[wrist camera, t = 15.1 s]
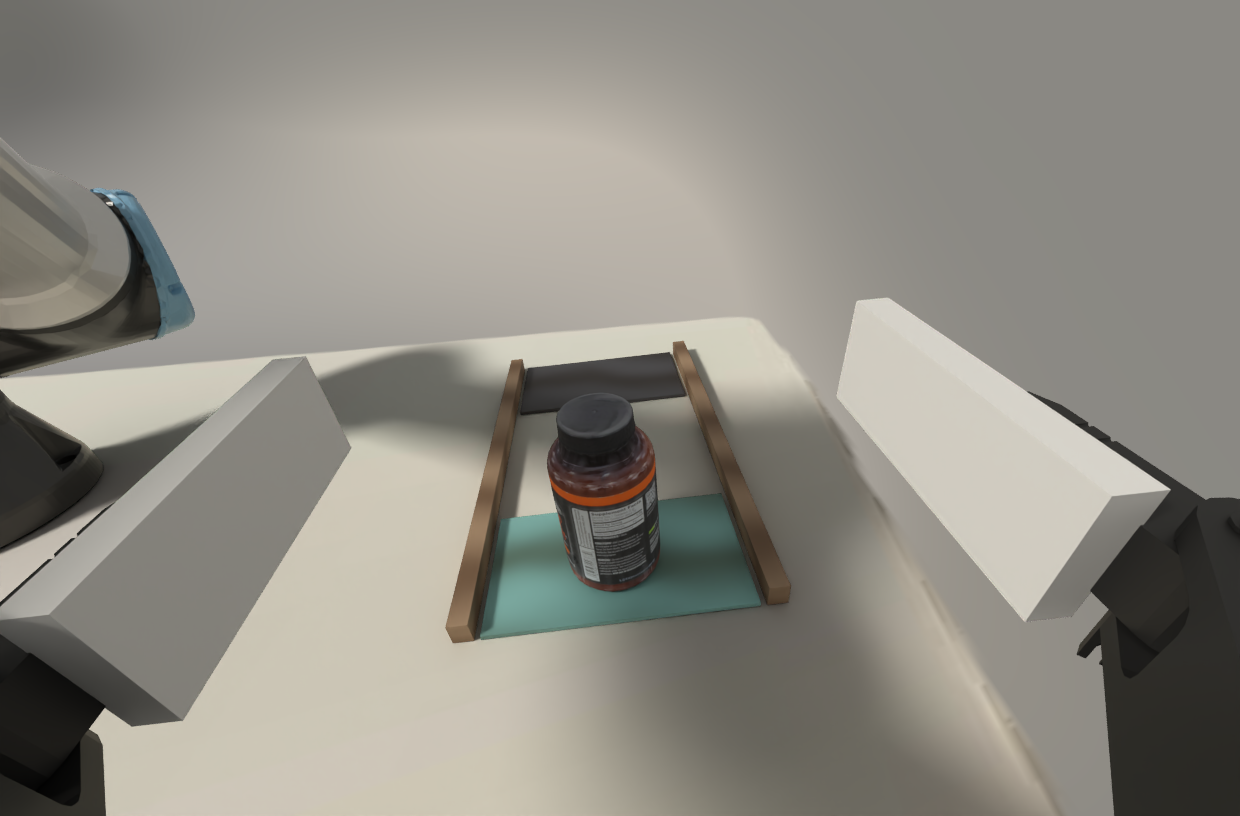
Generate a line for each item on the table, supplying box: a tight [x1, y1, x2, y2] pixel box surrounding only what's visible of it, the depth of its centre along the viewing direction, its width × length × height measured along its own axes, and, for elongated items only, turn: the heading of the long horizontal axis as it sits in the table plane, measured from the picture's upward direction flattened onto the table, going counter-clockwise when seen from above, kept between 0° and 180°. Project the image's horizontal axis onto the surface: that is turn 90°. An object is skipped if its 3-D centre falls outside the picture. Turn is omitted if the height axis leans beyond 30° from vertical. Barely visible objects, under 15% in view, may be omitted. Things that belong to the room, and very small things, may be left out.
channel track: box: [445, 341, 791, 643], centre depth 40 cm, size 32×19×2 cm, turn 4°
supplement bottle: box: [547, 393, 660, 592], centre depth 28 cm, size 6×6×11 cm
